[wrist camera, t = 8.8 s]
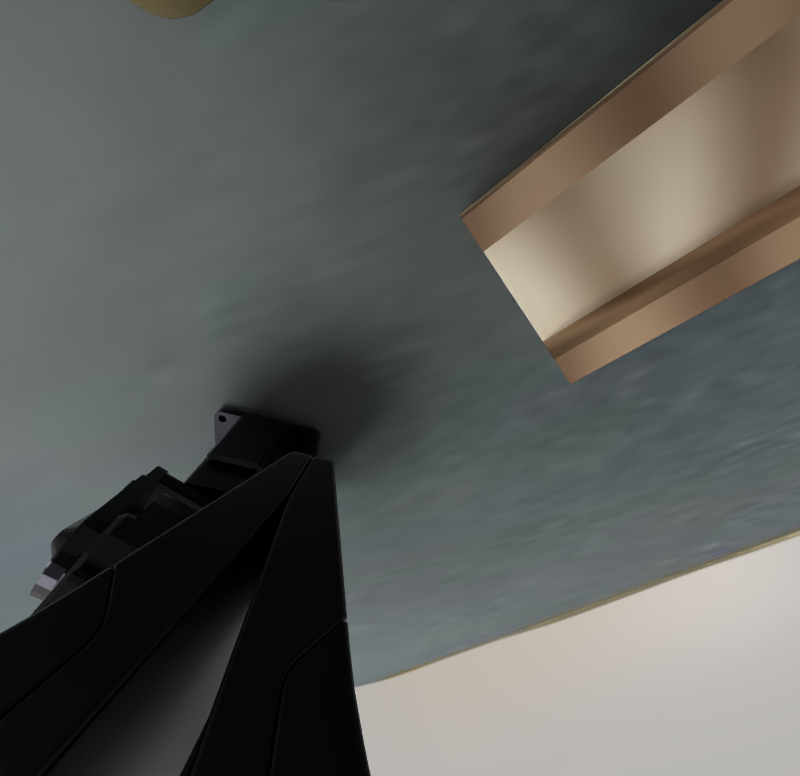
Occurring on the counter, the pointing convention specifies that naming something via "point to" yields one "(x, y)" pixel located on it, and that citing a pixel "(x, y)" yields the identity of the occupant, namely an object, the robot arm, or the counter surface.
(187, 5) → the cork
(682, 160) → the chute
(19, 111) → the counter surface
